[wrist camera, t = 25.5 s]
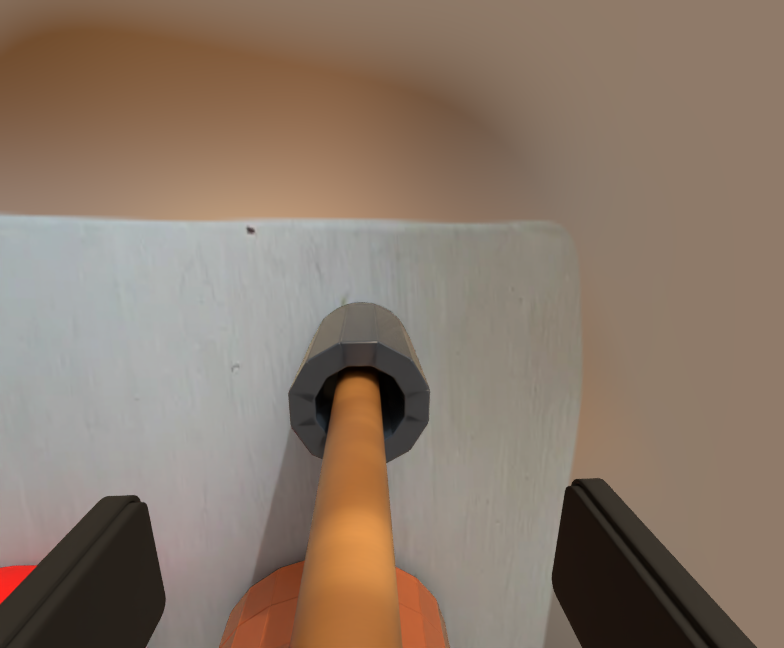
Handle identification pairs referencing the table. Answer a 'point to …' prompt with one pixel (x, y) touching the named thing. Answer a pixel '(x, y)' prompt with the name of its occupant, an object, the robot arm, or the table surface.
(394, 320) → the utensil holder
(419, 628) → the terracotta dish
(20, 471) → the table surface
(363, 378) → the stick
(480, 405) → the table surface
